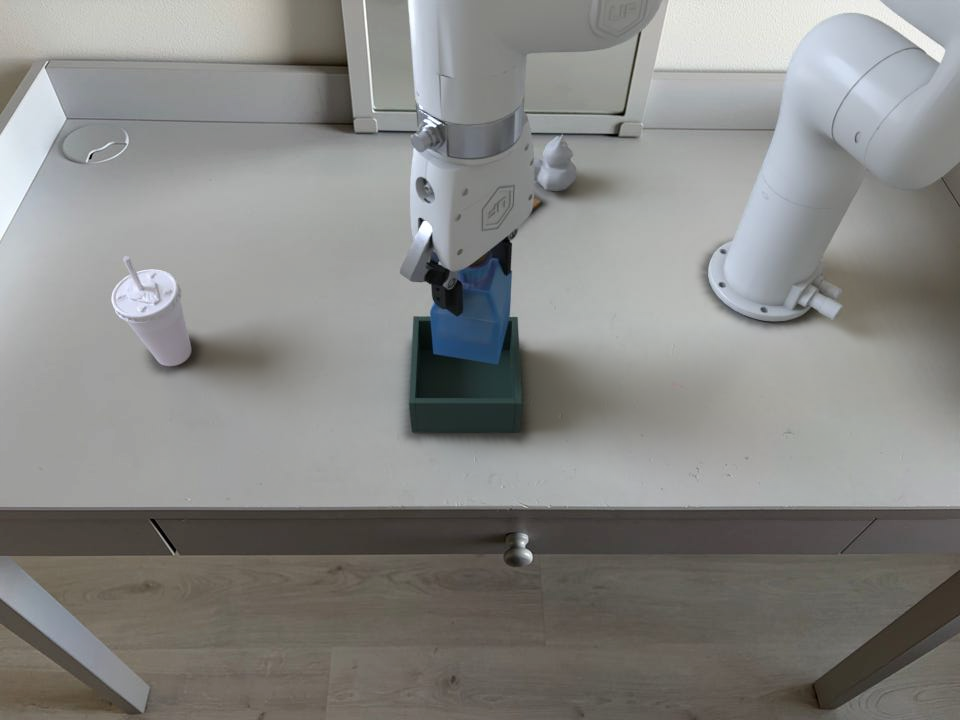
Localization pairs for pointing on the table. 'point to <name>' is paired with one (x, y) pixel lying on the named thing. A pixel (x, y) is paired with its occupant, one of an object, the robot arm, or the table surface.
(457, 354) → the perfume bottle
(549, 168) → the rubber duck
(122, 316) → the smoothie
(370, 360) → the table surface
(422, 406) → the bin
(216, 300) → the table surface
